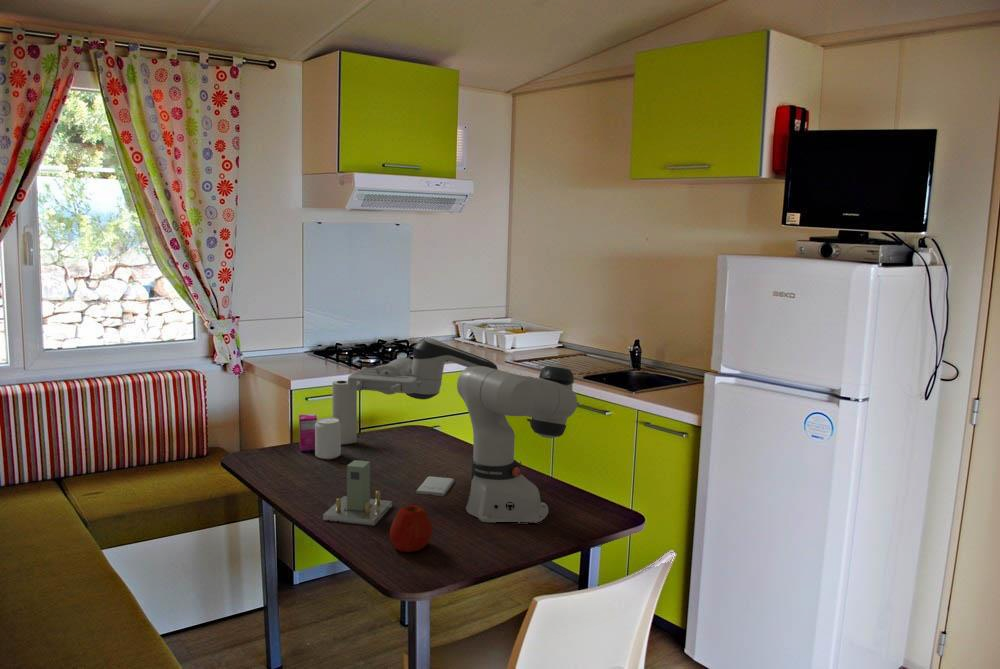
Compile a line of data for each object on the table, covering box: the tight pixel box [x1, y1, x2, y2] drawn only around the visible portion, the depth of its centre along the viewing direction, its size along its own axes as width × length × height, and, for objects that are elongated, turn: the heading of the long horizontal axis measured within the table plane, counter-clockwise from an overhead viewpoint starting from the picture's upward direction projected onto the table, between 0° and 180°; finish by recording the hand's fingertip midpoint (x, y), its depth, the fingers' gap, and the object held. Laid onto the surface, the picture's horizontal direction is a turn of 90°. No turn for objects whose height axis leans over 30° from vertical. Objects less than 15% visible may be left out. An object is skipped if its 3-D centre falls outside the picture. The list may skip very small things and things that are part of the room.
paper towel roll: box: [331, 380, 358, 445], centre depth 277 cm, size 7×6×21 cm
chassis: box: [322, 490, 393, 526], centre depth 217 cm, size 14×14×5 cm
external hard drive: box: [415, 476, 455, 497], centre depth 239 cm, size 2×8×12 cm
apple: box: [389, 504, 433, 553], centre depth 197 cm, size 10×10×10 cm
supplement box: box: [298, 413, 318, 453], centre depth 270 cm, size 6×6×12 cm
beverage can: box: [314, 417, 342, 460], centre depth 263 cm, size 8×8×12 cm
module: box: [346, 459, 371, 511], centre depth 216 cm, size 4×5×12 cm
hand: (374, 389), depth 230 cm, fingers open, 8 cm apart
